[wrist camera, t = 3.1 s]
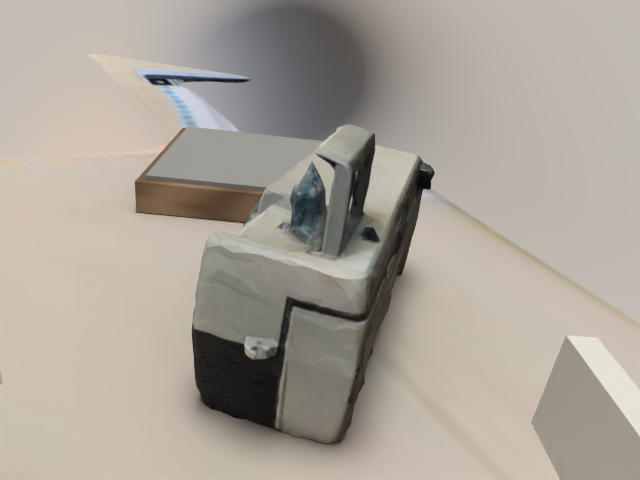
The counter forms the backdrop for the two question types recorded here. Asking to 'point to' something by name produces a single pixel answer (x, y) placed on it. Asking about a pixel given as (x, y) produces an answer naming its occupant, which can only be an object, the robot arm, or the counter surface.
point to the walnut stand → (216, 173)
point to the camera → (306, 287)
